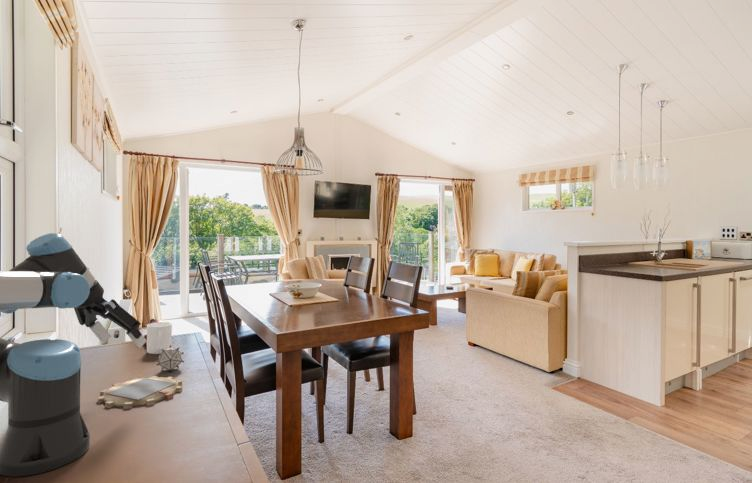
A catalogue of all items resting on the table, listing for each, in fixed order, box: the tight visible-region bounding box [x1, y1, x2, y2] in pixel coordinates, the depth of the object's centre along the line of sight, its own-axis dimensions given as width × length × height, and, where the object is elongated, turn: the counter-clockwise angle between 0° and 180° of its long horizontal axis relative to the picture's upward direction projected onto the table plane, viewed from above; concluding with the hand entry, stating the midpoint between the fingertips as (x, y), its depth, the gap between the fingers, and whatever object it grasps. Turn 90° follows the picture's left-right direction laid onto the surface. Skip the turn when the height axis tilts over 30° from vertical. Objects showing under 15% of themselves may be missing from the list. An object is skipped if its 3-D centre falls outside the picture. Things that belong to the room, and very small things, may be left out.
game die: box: [155, 345, 185, 374], centre depth 137 cm, size 9×8×10 cm
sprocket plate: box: [97, 375, 183, 410], centre depth 118 cm, size 21×21×1 cm
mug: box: [146, 321, 173, 355], centre depth 157 cm, size 9×12×11 cm
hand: (124, 342), depth 116 cm, fingers open, 13 cm apart
